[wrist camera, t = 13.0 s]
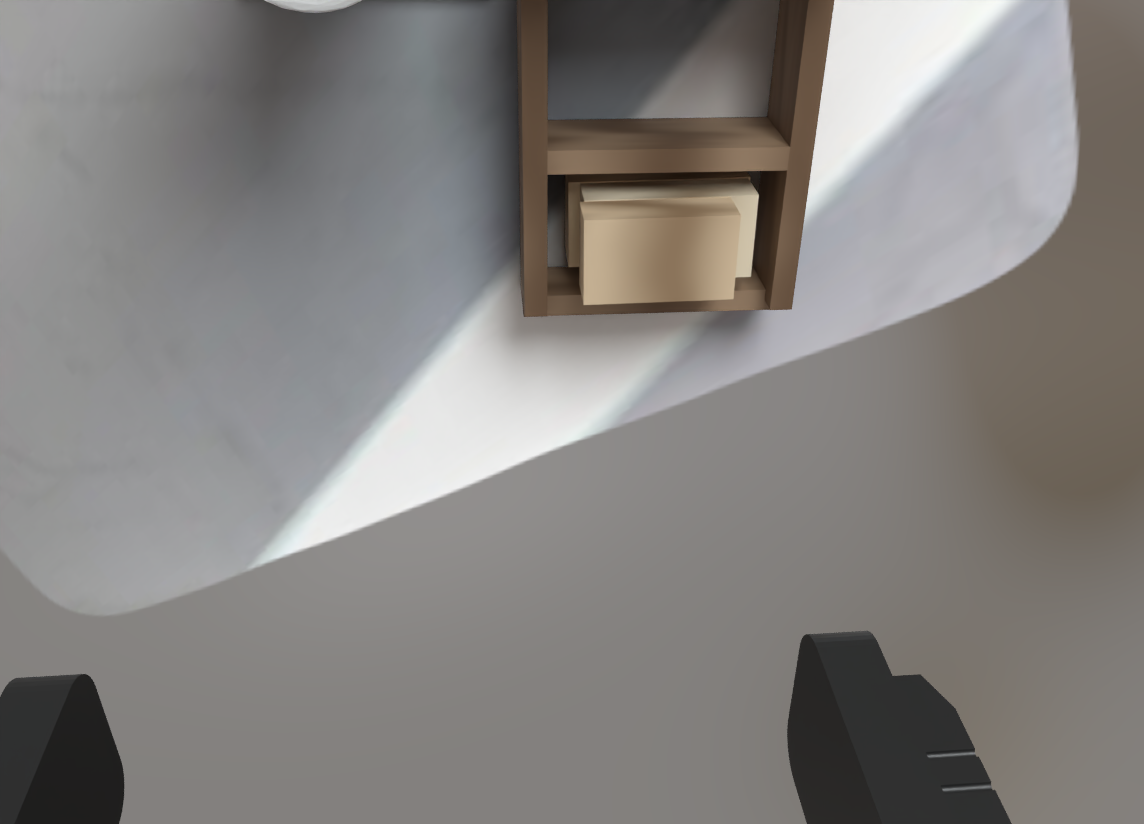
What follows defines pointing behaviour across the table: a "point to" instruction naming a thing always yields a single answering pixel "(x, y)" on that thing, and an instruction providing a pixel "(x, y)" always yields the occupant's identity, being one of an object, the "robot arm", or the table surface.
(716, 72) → the table surface
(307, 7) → the beverage can
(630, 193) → the offcut stack
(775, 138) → the tray
